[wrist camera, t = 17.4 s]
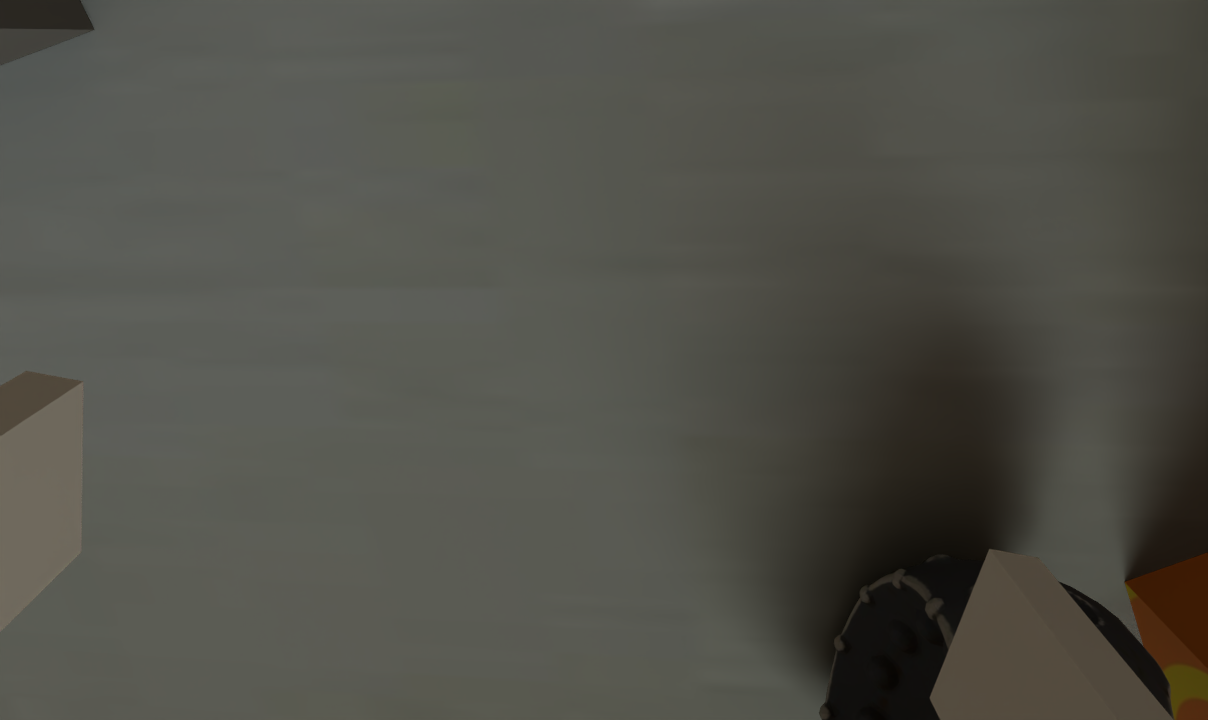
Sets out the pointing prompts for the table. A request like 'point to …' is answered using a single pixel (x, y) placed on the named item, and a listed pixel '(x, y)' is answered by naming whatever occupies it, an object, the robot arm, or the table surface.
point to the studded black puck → (933, 642)
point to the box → (1177, 630)
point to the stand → (38, 25)
